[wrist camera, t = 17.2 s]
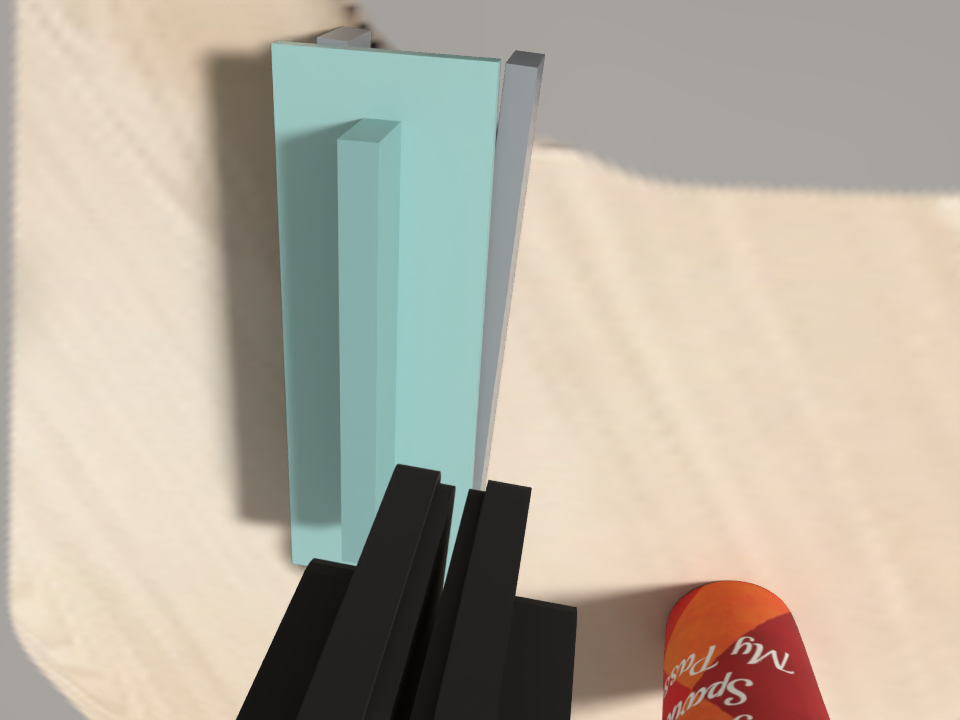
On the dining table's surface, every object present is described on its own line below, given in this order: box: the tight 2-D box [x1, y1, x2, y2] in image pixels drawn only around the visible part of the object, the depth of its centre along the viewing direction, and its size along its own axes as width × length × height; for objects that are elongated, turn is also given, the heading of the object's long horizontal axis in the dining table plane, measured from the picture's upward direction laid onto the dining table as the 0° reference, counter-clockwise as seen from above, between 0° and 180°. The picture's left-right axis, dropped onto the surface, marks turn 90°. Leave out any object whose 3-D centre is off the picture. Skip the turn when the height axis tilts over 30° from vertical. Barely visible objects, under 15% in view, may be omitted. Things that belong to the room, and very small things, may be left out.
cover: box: [271, 41, 501, 585], centre depth 32 cm, size 22×7×4 cm, turn 177°
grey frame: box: [317, 26, 545, 491], centre depth 35 cm, size 22×7×3 cm, turn 174°
